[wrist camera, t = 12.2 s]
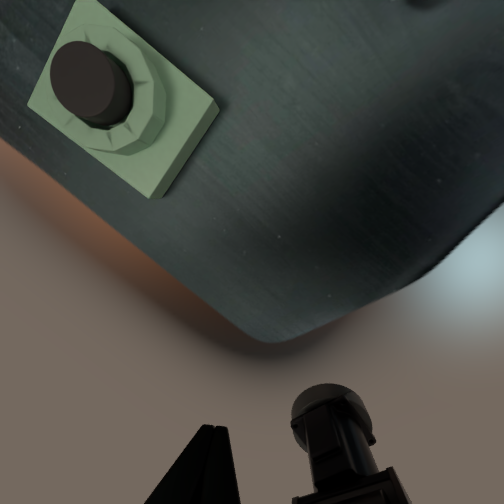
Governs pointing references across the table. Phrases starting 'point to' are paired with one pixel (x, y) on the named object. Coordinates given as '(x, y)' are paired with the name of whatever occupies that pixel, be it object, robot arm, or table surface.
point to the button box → (142, 106)
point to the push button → (90, 83)
